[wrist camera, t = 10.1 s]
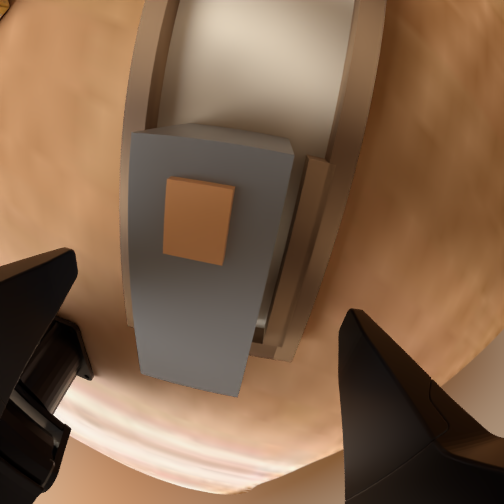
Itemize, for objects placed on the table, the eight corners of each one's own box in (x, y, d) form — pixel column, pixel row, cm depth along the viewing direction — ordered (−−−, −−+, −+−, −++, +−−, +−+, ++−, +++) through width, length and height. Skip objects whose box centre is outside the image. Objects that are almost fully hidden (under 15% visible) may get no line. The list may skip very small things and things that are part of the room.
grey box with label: (250, 318, 15) (236, 403, 10) (175, 302, 15) (138, 379, 10) (288, 138, 11) (295, 157, 6) (189, 122, 11) (125, 133, 6)
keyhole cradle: (291, 339, 16) (291, 362, 14) (139, 306, 16) (127, 326, 15) (378, -30, 7) (389, -46, 5) (182, -55, 7) (170, -71, 5)
